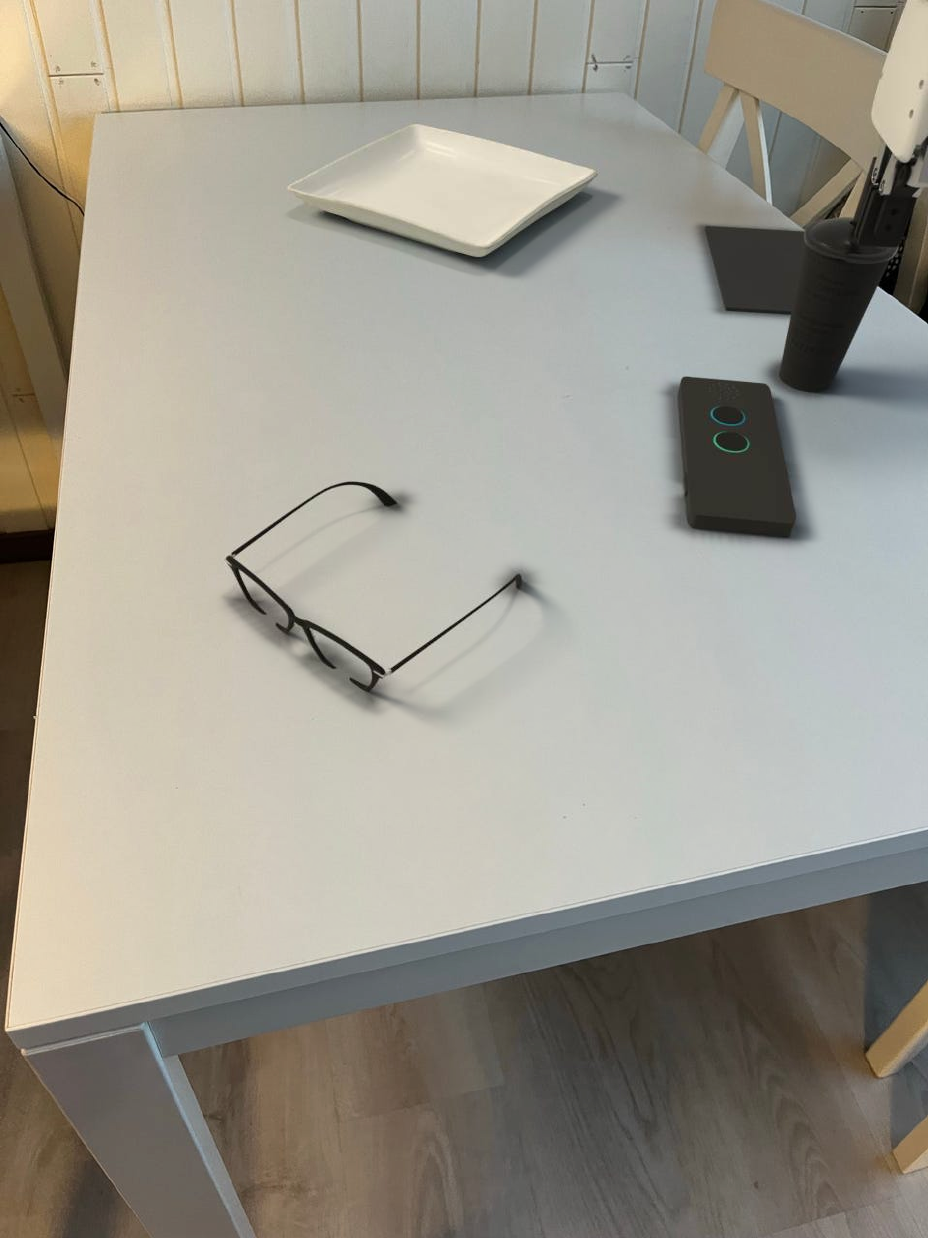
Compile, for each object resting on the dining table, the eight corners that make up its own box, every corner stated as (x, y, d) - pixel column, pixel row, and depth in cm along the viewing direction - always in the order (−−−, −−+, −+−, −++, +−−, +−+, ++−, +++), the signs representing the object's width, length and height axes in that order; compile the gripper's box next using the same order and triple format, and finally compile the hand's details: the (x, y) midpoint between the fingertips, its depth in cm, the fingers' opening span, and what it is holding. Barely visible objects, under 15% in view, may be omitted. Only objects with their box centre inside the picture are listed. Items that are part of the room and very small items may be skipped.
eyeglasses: (219, 594, 67) (210, 551, 64) (379, 493, 76) (377, 452, 73) (385, 720, 60) (383, 678, 57) (541, 593, 68) (547, 551, 65)
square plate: (485, 280, 102) (487, 244, 99) (285, 217, 111) (281, 183, 109) (597, 197, 118) (601, 164, 116) (414, 148, 128) (414, 117, 125)
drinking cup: (786, 406, 86) (858, 179, 72) (749, 363, 92) (810, 143, 77) (862, 398, 88) (947, 173, 74) (821, 355, 93) (894, 138, 79)
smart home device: (771, 381, 86) (800, 522, 72) (766, 398, 87) (794, 540, 73) (678, 373, 86) (689, 512, 73) (675, 390, 88) (685, 529, 74)
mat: (842, 319, 98) (843, 314, 98) (725, 312, 99) (726, 307, 98) (806, 236, 112) (808, 231, 112) (704, 230, 113) (705, 225, 112)
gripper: (1076, -7, 56) (952, 289, 69) (994, -61, 66) (899, 205, 79) (947, -14, 56) (848, 283, 69) (885, -66, 67) (809, 200, 80)
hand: (876, 241), depth 74 cm, fingers closed
